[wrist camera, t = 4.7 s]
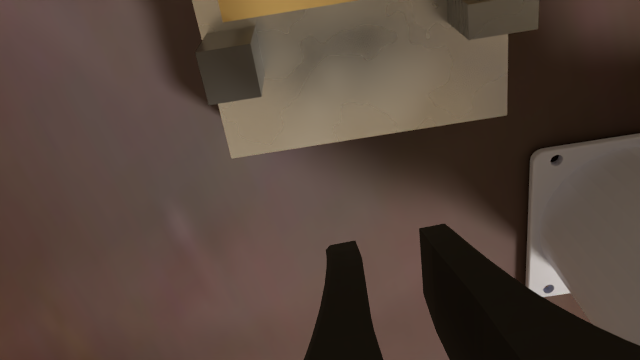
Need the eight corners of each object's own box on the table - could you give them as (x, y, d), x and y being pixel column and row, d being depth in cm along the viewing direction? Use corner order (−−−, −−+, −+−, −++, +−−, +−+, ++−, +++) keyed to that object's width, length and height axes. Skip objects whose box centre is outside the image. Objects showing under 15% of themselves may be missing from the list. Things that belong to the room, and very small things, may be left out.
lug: (255, 25, 18) (250, 43, 15) (264, 73, 18) (261, 96, 16) (206, 33, 18) (195, 52, 15) (218, 80, 18) (208, 105, 16)
